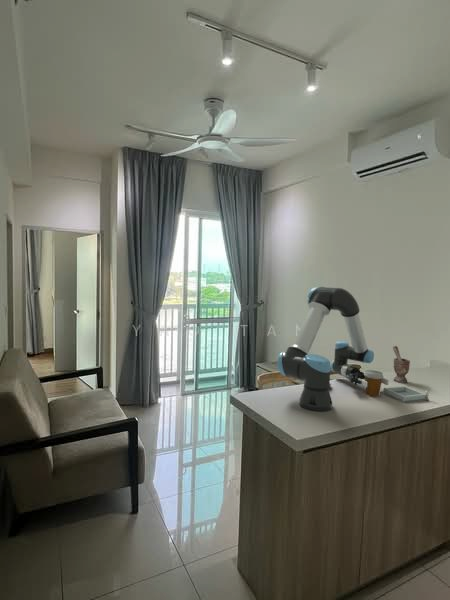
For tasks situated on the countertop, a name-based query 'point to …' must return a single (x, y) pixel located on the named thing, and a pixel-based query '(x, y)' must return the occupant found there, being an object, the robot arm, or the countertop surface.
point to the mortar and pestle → (400, 367)
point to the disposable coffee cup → (373, 382)
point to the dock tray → (405, 394)
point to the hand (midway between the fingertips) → (377, 383)
